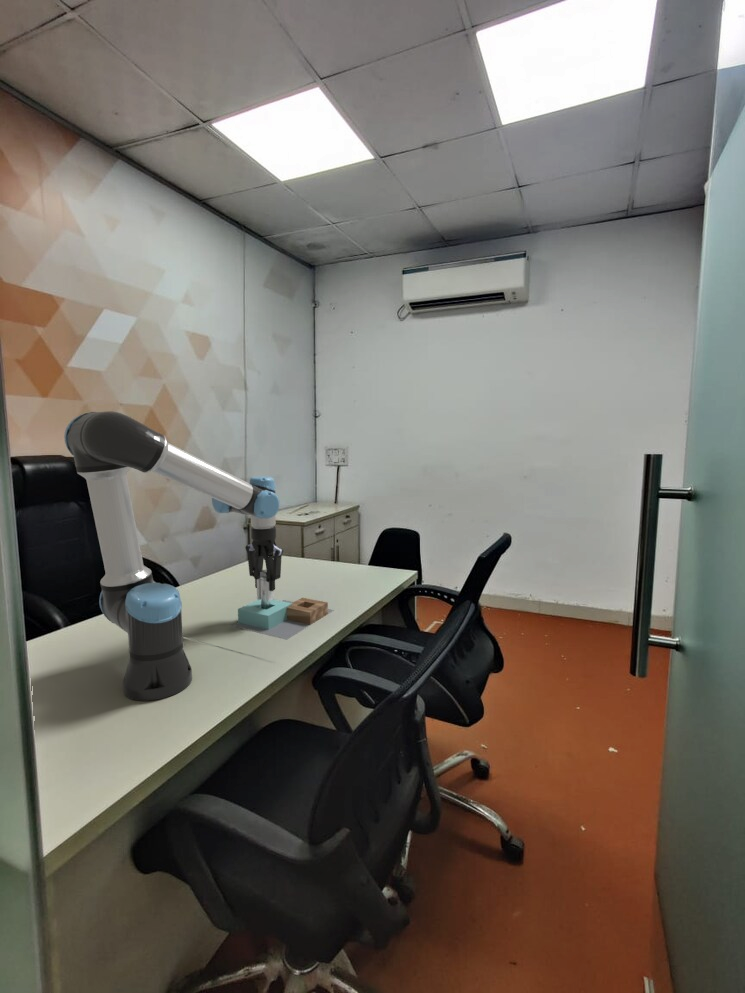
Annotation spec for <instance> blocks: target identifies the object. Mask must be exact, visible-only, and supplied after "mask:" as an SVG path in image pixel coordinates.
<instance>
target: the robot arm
mask: <svg viewBox="0 0 745 993" xmlns="http://www.w3.org/2000/svg"><path fill="white" fill-rule="evenodd" d="M63 438H64V444H65V447H66V448H67V450H68V452H69V453H70V454H71V455H72V456H73V459H74V464H75V469H76V473H77V474H78V475H79V476H81V477H82V478H84V479H85V480H86V484H87V489H88V494H89V498H90V499H89V500H90V504H91V509H92V513H93V519H94V523H95V528H96V529H95V530H96V533H97V539H98V542H99V547H100V553H101V557H102V562H103V566H104V567H103V568H104V571H105V574H104V576H103V577H102V578H101V579H100V582H99V583H100V587H101V592H100V595H99V601H98V602H99V603H98V604H99V608H100V610H101V612H102V615H103V616H104V617H105V618H106V619H107V620H108V621H109V622H111V624H114V625H116V626H117V627H118V628H120V629H122V630H123V631H124V632H125V633H127V637H128V639H127V640H128V653H129V659H128V663H127V667H126V670H125V675H124V677H123V680H122V690H123V695H124V697H127V698H129V699H131V700H136V701H143V702H144V701H146V702H147V701H155V700H161V699H164V698H169V697H171V696H173V695H176V694H178V693H180V692H182V691H183V690H185V689H186V688H187V687H189V685H190V684H191V683H192V681H193V670H192V666H191V664H190V662H189V659H188V657H187V655H186V652H185V649H184V644H183V643H184V642H183V638H184V636H183V620H182V618H183V616H182V614H183V612H182V607H183V606H182V605H183V604H182V599H181V594H180V591H179V590H178V589H177V587H175V586H174V585H171V584H169V583H161V582H154V578H153V574H152V573H153V572H152V570H151V568H148V567H147V566H146V565H144V560H143V556H142V550H141V544H140V540H139V534H138V529H137V523H136V518H135V513H134V508H133V507H134V506H133V502H132V497H131V492H130V487H129V481H128V476H127V474H128V472H129V470H131V469H134V470H137V471H139V472H141V473H144V474H147V473H149V472H150V473H151V472H152V473H155V474H158V475H159V476H161V477H164V478H166V479H168V480H171V481H173V482H175V483H177V484H180V485H183V486H185V487H187V488H189V489H192V490H194V491H196V492H197V493H201V494H203V495H205V496H207V497H210V498H211V505H212V507H213V509H214V510H215V512H216V513H219V514H229V513H237V514H242V515H247V516H250V526H251V528H250V535H251V537H250V538H251V540H252V543H251V544H247V545H245V546H244V548H245V551H246V554H247V562H248V563H247V564H248V572H249V576H250V577H253V578H254V582H255V583H254V584H255V585H254V586H255V589H256V599H257V600H260V599H261V590H260V571H261V570H264V569H263V567H264V562H265V570H267V577H268V580H266V601H267V602H269V601H271V600H275V599H274V598H275V595H274V594H275V593H274V592H275V589H276V580H278V579H281V572H282V555H283V553H284V548H279V546H277V543H276V538H277V527H276V522H277V521H276V520H277V518H276V515H277V513H278V512H279V509H280V506H281V504H280V499H279V497H278V495H277V494H276V484H275V479H274V478H273V477H271V476H252V477H250V479H249V482H247V481H245V480H243V479H241V478H239V477H237V476H235V475H233V474H232V473H229V472H228V471H225V470H224V469H221V468H219V467H217V466H215V465H213V464H212V463H209V462H208V461H206V460H204V459H202V458H200V457H198V456H197V455H193V454H192V453H190V452H187V451H185V450H183V449H182V448H180V447H178V446H176V445H173V444H172V443H170V442H168V441H167V438H166V435H164V434H162V433H160V432H158V431H156V430H154V429H152V428H150V427H148V426H147V425H145V424H143V423H142V422H139V421H137V420H136V419H134V418H132V417H131V416H128V415H127V414H124V413H121V412H117V411H112V410H111V411H110V410H109V411H107V410H106V411H89V412H84V413H82V414H79V415H77V416H76V417H75V418H73V419H71V421H70V422H69V423H68V424H67V426H66V428H65V432H64V437H63Z"/></svg>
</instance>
